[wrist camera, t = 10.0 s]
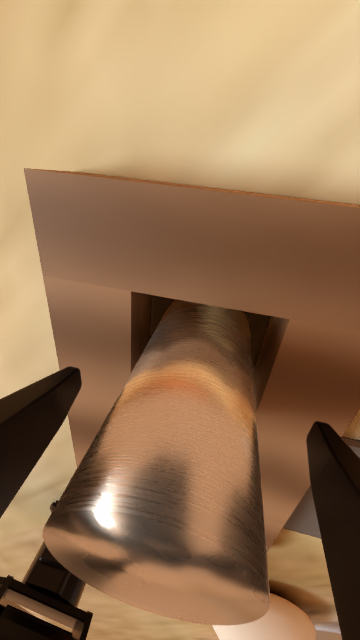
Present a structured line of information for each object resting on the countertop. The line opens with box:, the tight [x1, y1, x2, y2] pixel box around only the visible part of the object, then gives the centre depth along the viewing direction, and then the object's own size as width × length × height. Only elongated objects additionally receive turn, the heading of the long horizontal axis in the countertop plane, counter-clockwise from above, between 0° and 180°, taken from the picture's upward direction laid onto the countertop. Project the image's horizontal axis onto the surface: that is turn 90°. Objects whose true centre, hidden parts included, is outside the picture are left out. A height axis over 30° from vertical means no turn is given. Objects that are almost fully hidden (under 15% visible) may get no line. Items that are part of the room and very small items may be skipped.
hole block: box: [24, 168, 360, 551], centre depth 16 cm, size 28×14×3 cm, turn 174°
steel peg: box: [43, 299, 270, 626], centre depth 10 cm, size 5×5×10 cm
